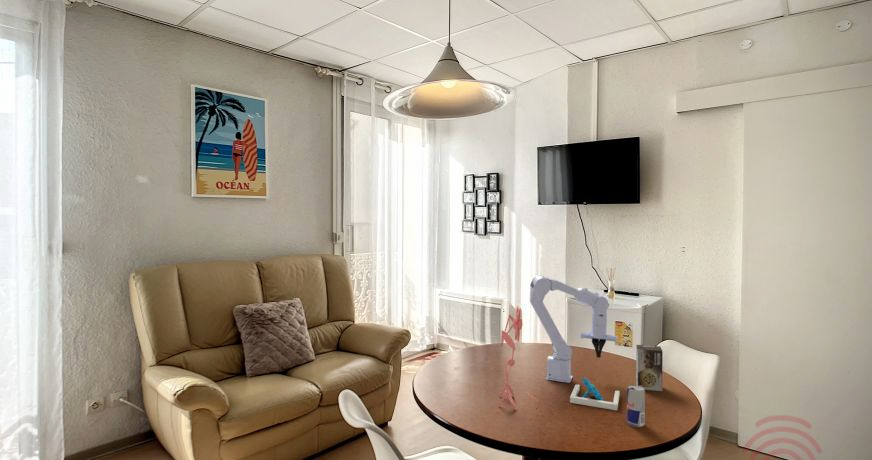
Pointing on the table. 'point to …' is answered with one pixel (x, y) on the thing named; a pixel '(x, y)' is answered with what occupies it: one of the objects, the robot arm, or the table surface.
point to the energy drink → (635, 406)
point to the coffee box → (649, 367)
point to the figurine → (517, 326)
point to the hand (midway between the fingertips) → (598, 356)
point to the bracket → (593, 402)
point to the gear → (591, 390)
